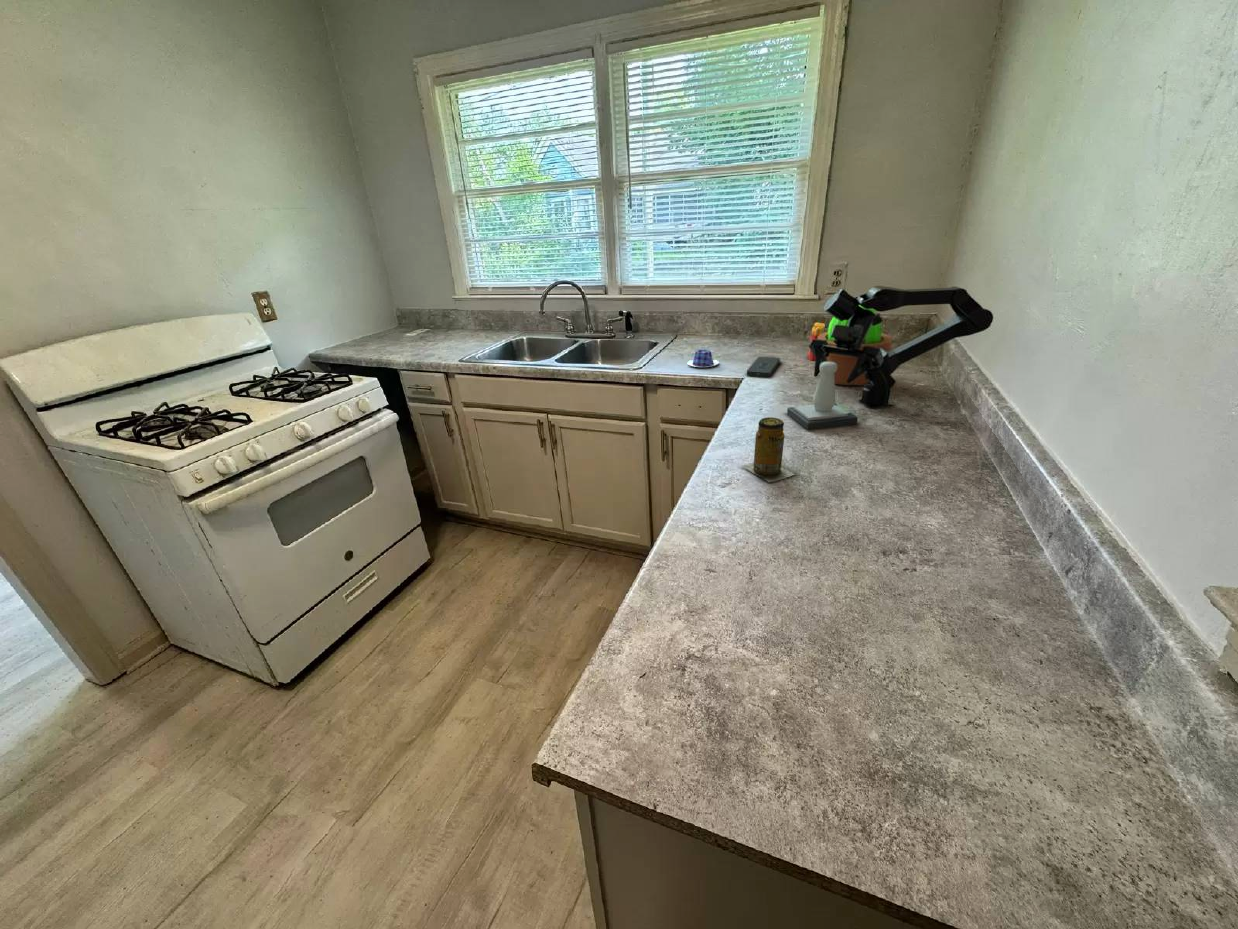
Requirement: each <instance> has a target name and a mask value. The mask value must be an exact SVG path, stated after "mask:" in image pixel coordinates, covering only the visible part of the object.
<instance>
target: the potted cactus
mask: <svg viewBox="0 0 1238 929" xmlns="http://www.w3.org/2000/svg"><path fill="white" fill-rule="evenodd" d="M859 306H860V305H859ZM860 307H861V308H863V309H865V308H864V307H862V306H860ZM869 310H871V311H872V312H874V313H875V314H878V311H876V310H874V309H869ZM850 319H851V318H850ZM850 319H849V320H850ZM849 320H844V321H839V320H838V319H836V318H835V317H833V316H831V319H830V321H829V325H828V327H827V331H826V332H825V331H824V332H823V333H822V334H820V335H819V336H818V339H822V340H827V342H828V345H829V346H836V345H837V344H835V343H834V339H835V338H833V337H830V336H831V333H832V330H833V327H834V325H843V326H847V324H848V322H849ZM865 338H866V342H865V343H862V345H861V347H860V349H859V350H863V348H864V346H873V347H879V348H882V349H883V350H885V351H891V350H892V349H891V348H892V343H893V338H892V337H891V336H890V335H888V334H886V333H884V332H883V326H882V322H881V323H879V324H877V325H875V326H873V325H872V326H871V327H870V329H869V331H868V333H867V335H866V337H865ZM826 358H827V361H826V362H834V363H836V364H837V371H836V372H834V380H835V385H840V386H865V383H867V382H868V380H867V379H866V378H865V375H864V374H863V373H862V374H861V375H860V376H858V377H857V378H855V379H854V380H853V381H851V382H850V383H847V379H848V377H849V375H850V373H851V371H852V370H853V368H854V366H855V365H856V363H857V360H858V358H857V357H851V356H845V355H839V354H832V353H830V354H829V356H828V357H826ZM821 373H822V372H820V374H821Z"/></svg>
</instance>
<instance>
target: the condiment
mask: <svg viewBox="0 0 1238 929" xmlns="http://www.w3.org/2000/svg"><path fill="white" fill-rule="evenodd" d="M784 426H785V422H784V421H783V420H782V419H780V418H778V417H771V416H770V417H768V416H767V417H763V418H761V419H759V421H758V426H757V431H756V433H755V441H754V452H753V453H754V455H753V464H752V465H748V466H744V469H746V470H747V471H749V472H751V473H752V474H754V475H756V476H757V477H760V479H762V480H764V481H766V482H768V483H774V482H776V481H781V480H783V479H786V478H789V477H792V476H794V475H796V474H795V473H794V472H792V471H790V470H788V469H786V468H784V467H782V463H783V454H784V446H785V445H784V444H785V433H784V429H785V428H784Z"/></svg>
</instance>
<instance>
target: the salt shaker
mask: <svg viewBox="0 0 1238 929" xmlns="http://www.w3.org/2000/svg"><path fill="white" fill-rule="evenodd" d="M836 371H837V364H836V363H834V362H823V363H821V364H820V375H819V376H820V377H819V380H818V383H817V385H816V388H815V391H814V394H813V397H812V404H813V405H814V408H815V410H817V411H820V412H828V411H830V410H831V409H832V408H833V406H834V404H835V403H836V400H837V399H836V384H835V380H834V372H836ZM821 372H822V373H821Z"/></svg>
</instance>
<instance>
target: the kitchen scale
mask: <svg viewBox="0 0 1238 929" xmlns="http://www.w3.org/2000/svg"><path fill="white" fill-rule="evenodd" d="M786 415H787V416H789V417H790V418H791V419H792V420H794V421H795V422H796V423H797V424H799V425H800V426H801V427H803V428H804V429H805V430H806V431H812V430H821V429H827V428H837V427H843V426H844V427H845V426H852V425H857V424H858V419H859V417H858V416H857V415H855V414H853V413H852V411H850V410H848V408H845V407H844V406H843V405H840V404H837V403H836V402H835V404H834V406H833V408H832V409H831V410H830V411H828V412H820V411H817V410H815V408H814V405H813V403H812V404H803V405H794V406H791V407H787V410H786Z"/></svg>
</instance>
